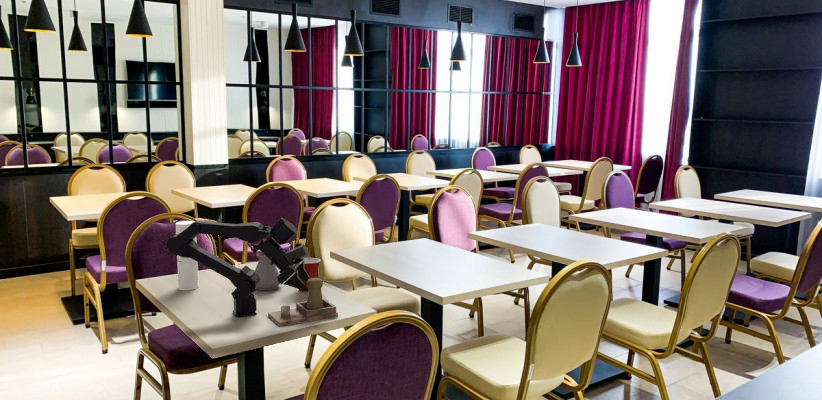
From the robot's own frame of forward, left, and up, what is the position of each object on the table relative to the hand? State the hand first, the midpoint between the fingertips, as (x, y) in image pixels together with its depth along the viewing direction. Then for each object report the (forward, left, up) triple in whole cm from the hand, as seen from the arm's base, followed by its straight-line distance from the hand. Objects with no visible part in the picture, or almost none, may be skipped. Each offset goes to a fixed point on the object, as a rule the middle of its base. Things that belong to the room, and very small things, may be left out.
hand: (309, 286), depth 208 cm
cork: (+2, -1, -8) cm, 9 cm away
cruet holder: (-3, -1, -9) cm, 10 cm away
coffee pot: (-4, +42, -10) cm, 43 cm away
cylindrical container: (-29, +51, -10) cm, 59 cm away
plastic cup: (+9, +27, -10) cm, 30 cm away
